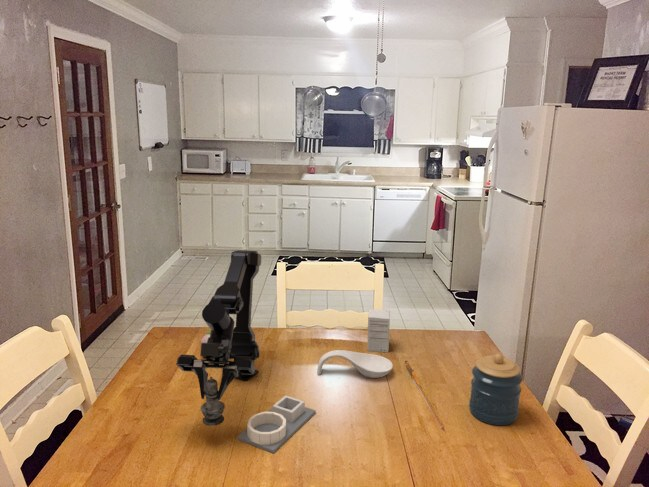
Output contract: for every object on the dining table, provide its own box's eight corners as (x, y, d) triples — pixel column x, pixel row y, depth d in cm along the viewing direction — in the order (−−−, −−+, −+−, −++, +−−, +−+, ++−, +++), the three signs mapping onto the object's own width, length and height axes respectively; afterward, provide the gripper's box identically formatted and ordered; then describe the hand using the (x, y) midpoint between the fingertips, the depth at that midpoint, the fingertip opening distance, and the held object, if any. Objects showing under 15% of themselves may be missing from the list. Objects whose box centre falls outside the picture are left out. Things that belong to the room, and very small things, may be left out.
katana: (439, 434, 137) (440, 425, 136) (404, 365, 170) (404, 358, 169) (444, 434, 137) (445, 425, 136) (408, 365, 170) (408, 357, 170)
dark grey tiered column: (219, 428, 127) (217, 384, 124) (197, 425, 129) (194, 381, 125) (229, 414, 133) (227, 371, 130) (207, 411, 134) (204, 369, 131)
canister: (517, 405, 149) (524, 347, 144) (518, 430, 137) (525, 369, 132) (470, 396, 153) (475, 340, 148) (466, 421, 141) (472, 361, 136)
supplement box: (367, 342, 188) (369, 308, 184) (388, 343, 187) (390, 310, 183) (366, 351, 180) (367, 316, 177) (388, 352, 179) (389, 318, 176)
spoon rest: (390, 364, 172) (391, 344, 170) (394, 383, 160) (395, 362, 158) (317, 364, 172) (317, 343, 170) (317, 382, 160) (317, 361, 158)
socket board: (282, 401, 149) (282, 389, 148) (315, 413, 144) (315, 400, 143) (237, 439, 132) (237, 425, 131) (273, 453, 127) (273, 439, 126)
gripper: (176, 325, 129) (162, 388, 121) (251, 328, 128) (242, 393, 120) (188, 340, 139) (176, 400, 131) (258, 343, 137) (250, 404, 130)
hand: (210, 399), depth 128 cm, fingers closed on dark grey tiered column, 4 cm apart
